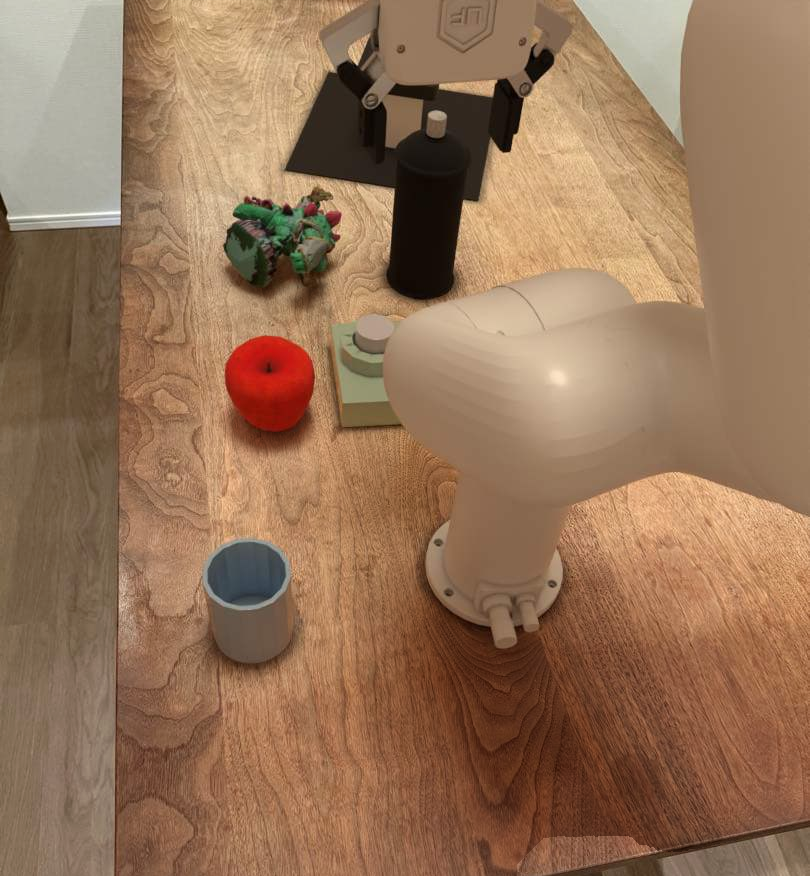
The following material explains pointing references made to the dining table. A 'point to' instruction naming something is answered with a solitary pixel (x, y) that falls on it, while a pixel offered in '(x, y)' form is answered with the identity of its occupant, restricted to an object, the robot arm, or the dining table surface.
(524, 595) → the robot arm
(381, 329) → the round grey push button
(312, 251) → the figurine
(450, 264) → the aerosol can
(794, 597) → the dining table surface
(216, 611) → the cup
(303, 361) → the apple
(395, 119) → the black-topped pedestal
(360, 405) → the push button box
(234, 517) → the dining table surface
